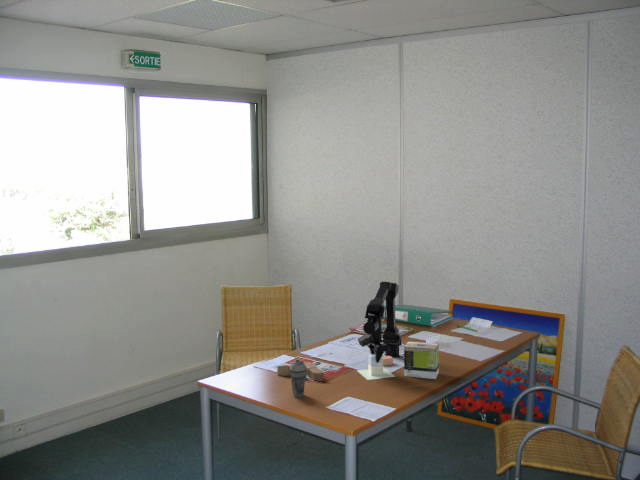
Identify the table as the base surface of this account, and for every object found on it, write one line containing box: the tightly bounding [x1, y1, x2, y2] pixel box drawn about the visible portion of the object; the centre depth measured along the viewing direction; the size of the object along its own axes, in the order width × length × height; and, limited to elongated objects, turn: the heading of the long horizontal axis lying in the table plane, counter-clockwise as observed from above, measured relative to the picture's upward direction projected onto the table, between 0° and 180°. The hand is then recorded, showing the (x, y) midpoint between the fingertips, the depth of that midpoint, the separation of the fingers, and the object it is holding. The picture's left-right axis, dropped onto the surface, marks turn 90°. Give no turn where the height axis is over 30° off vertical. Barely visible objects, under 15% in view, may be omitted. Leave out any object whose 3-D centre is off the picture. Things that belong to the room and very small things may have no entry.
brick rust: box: [381, 355, 394, 367], centre depth 310 cm, size 6×4×4 cm, turn 109°
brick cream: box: [367, 364, 384, 375], centre depth 297 cm, size 6×4×4 cm, turn 108°
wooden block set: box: [276, 361, 325, 382], centre depth 294 cm, size 17×6×18 cm
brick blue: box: [367, 353, 384, 365], centre depth 296 cm, size 6×4×4 cm, turn 106°
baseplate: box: [356, 366, 396, 381], centre depth 297 cm, size 14×14×1 cm
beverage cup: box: [289, 350, 306, 398], centre depth 270 cm, size 7×7×20 cm
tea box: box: [403, 341, 440, 380], centre depth 295 cm, size 15×10×15 cm, turn 71°
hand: (375, 361), depth 296 cm, fingers closed on brick blue, 4 cm apart
